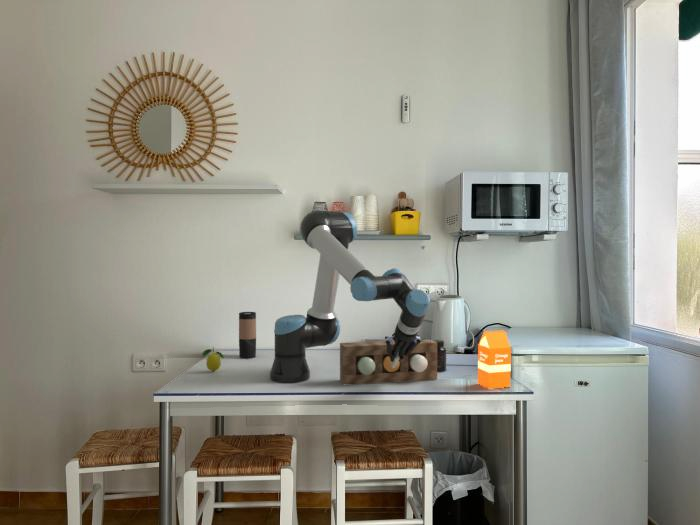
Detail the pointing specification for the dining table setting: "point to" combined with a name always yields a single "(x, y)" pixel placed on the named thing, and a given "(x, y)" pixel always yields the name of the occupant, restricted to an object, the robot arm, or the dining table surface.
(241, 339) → the travel mug
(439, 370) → the supplement bottle
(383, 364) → the button orange
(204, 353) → the lemon
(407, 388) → the dining table surface
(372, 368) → the button sage
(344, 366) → the control box
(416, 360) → the button ivory
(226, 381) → the dining table surface
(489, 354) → the orange juice
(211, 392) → the dining table surface
